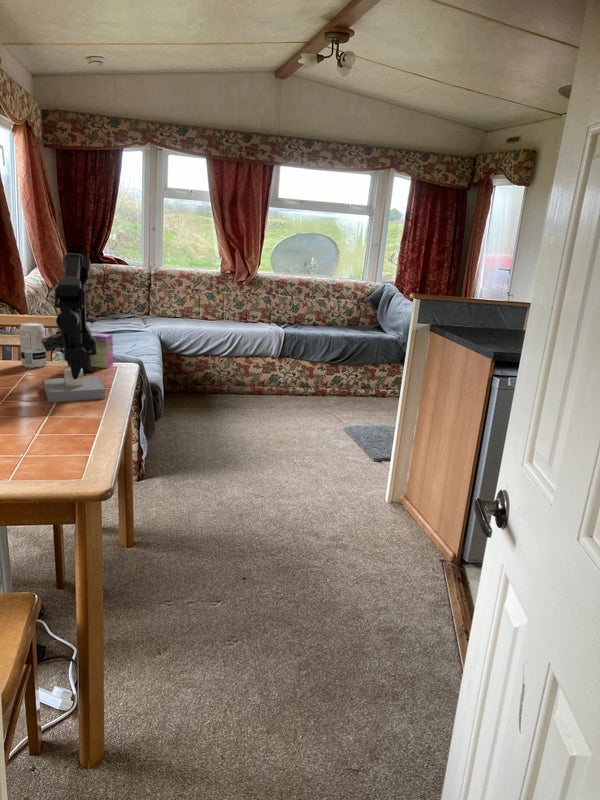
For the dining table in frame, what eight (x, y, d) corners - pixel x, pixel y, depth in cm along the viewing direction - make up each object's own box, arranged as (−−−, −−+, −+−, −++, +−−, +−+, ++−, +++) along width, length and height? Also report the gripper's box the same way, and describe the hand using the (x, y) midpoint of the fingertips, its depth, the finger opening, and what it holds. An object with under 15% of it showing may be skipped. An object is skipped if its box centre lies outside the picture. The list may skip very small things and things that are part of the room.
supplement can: (22, 363, 221) (20, 322, 216) (47, 363, 223) (45, 322, 219) (20, 368, 213) (17, 326, 209) (46, 368, 216) (43, 326, 212)
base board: (44, 388, 191) (43, 379, 190) (97, 385, 198) (96, 376, 197) (48, 402, 178) (48, 392, 177) (105, 398, 185) (104, 388, 184)
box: (113, 365, 226) (112, 333, 223) (107, 368, 221) (106, 336, 218) (86, 362, 227) (85, 331, 224) (79, 366, 222) (78, 334, 218)
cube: (64, 382, 188) (63, 366, 187) (81, 381, 190) (80, 365, 189) (66, 386, 184) (65, 370, 183) (83, 385, 186) (82, 369, 185)
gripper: (39, 321, 187) (42, 370, 191) (44, 331, 171) (47, 385, 175) (78, 320, 191) (80, 368, 196) (86, 331, 176) (88, 383, 180)
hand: (73, 376), depth 186 cm, fingers open, 7 cm apart
